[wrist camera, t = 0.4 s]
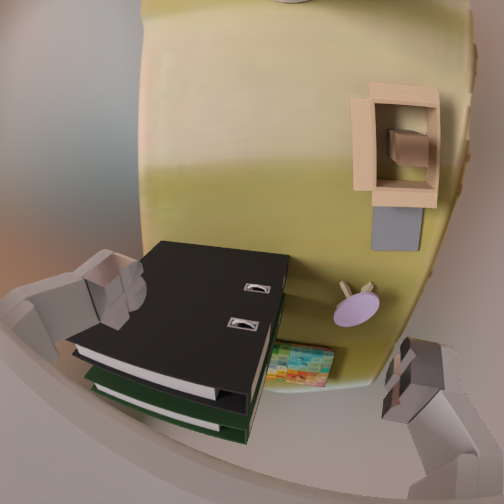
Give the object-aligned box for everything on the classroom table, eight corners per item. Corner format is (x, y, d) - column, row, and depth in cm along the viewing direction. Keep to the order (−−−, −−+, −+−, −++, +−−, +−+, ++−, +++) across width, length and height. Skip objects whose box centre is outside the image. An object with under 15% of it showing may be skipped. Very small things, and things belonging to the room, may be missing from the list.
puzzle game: (324, 389, 68) (245, 376, 72) (325, 375, 72) (249, 363, 76) (334, 359, 62) (245, 345, 66) (334, 344, 66) (250, 331, 70)
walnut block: (387, 129, 43) (399, 134, 35) (412, 130, 42) (428, 136, 34) (387, 154, 45) (399, 165, 37) (412, 156, 44) (428, 167, 36)
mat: (373, 201, 49) (374, 202, 49) (422, 202, 47) (423, 203, 46) (371, 248, 53) (371, 250, 53) (416, 249, 51) (417, 250, 50)
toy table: (367, 267, 55) (370, 284, 50) (384, 300, 58) (388, 318, 53) (323, 288, 60) (322, 305, 55) (343, 318, 62) (343, 336, 57)
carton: (346, 84, 41) (348, 82, 37) (428, 89, 38) (438, 88, 33) (351, 196, 50) (353, 205, 45) (427, 198, 46) (436, 208, 42)
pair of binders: (167, 291, 70) (92, 392, 42) (160, 234, 63) (61, 330, 35) (282, 312, 65) (246, 444, 37) (289, 252, 58) (248, 390, 30)
